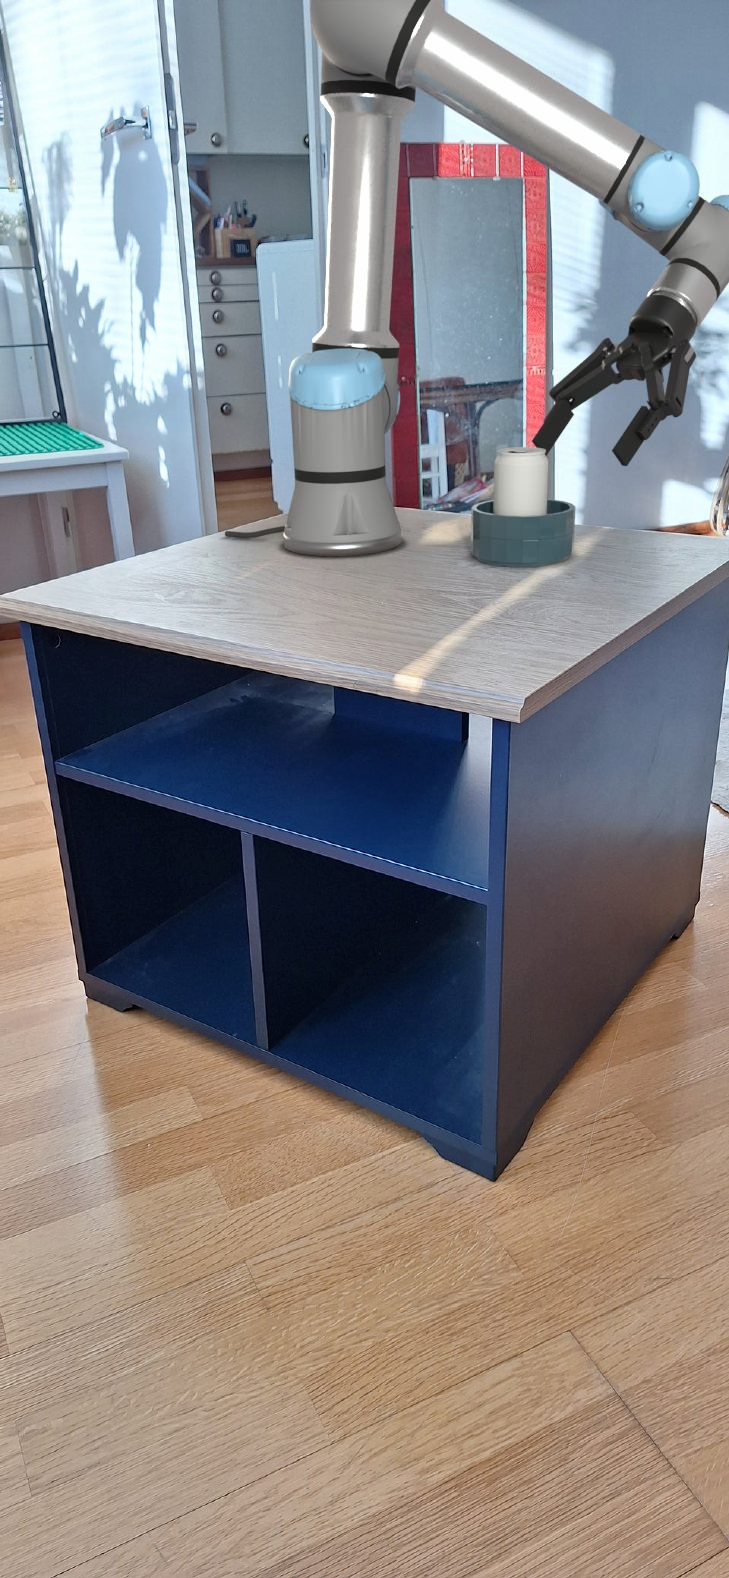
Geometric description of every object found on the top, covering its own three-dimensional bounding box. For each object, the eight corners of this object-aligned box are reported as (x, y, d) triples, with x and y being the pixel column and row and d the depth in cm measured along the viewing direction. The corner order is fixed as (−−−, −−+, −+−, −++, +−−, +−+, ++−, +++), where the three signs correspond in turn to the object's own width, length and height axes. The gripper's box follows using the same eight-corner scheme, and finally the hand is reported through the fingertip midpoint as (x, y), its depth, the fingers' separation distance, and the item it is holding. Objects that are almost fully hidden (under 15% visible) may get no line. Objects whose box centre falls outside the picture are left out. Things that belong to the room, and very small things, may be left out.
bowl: (453, 561, 134) (453, 511, 132) (501, 542, 143) (502, 495, 141) (544, 572, 128) (546, 519, 125) (589, 552, 137) (591, 502, 134)
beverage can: (482, 552, 136) (483, 450, 131) (512, 543, 140) (514, 444, 135) (526, 559, 132) (529, 454, 127) (555, 549, 136) (559, 447, 131)
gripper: (767, 337, 130) (670, 484, 129) (609, 335, 149) (523, 463, 147) (743, 289, 125) (642, 441, 124) (583, 293, 144) (493, 425, 142)
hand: (577, 453), depth 136 cm, fingers open, 13 cm apart
